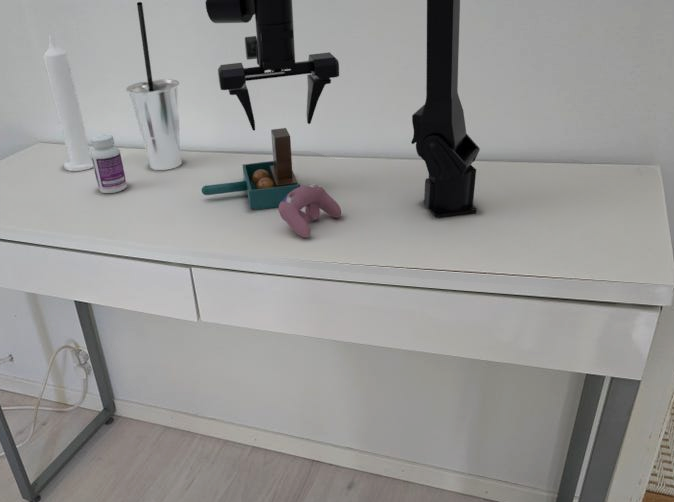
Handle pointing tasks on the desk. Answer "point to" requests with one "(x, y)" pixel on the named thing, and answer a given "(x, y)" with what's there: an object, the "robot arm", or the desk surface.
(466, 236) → the desk surface
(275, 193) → the dustpan
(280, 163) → the brown thick angular block
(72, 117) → the candle
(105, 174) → the pill bottle
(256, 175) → the ball far
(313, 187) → the video game controller
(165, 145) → the tumbler with straw
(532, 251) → the desk surface
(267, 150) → the desk surface
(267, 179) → the ball near
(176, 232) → the desk surface
